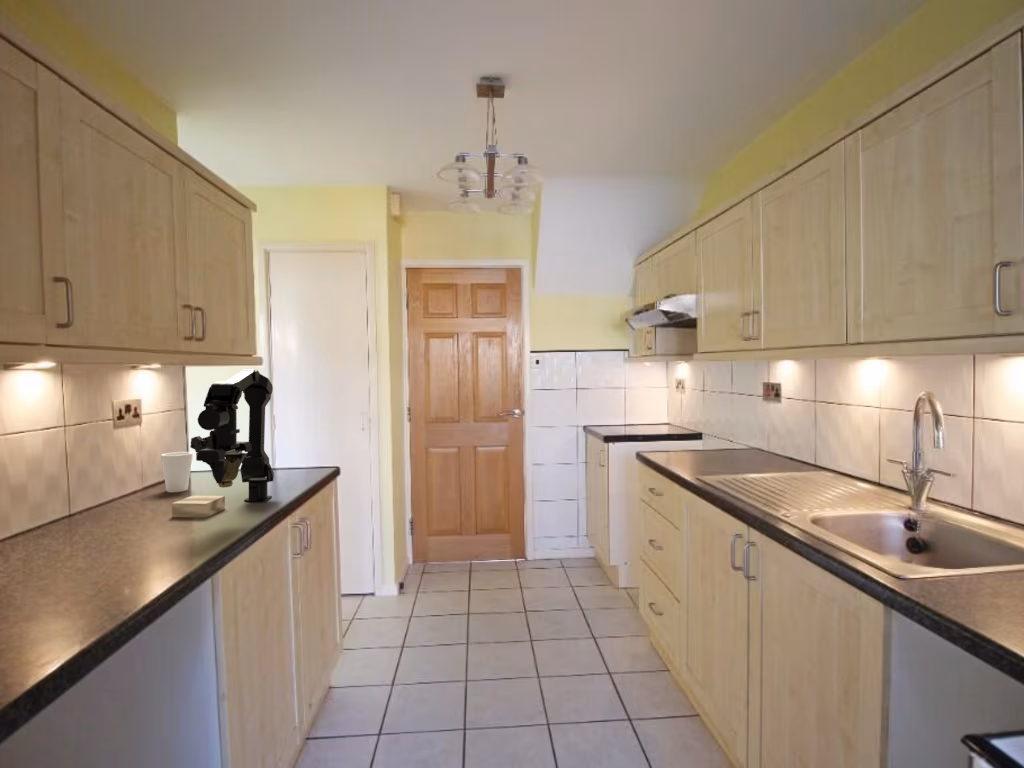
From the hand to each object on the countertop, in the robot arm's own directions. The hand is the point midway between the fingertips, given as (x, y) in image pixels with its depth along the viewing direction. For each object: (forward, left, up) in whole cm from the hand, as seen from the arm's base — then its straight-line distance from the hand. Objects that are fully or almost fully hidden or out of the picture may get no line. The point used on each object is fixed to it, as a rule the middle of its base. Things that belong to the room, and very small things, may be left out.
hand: (225, 480), depth 155 cm
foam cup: (-37, -38, -12) cm, 54 cm away
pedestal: (-8, -12, -11) cm, 19 cm away
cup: (0, 0, -2) cm, 2 cm away
